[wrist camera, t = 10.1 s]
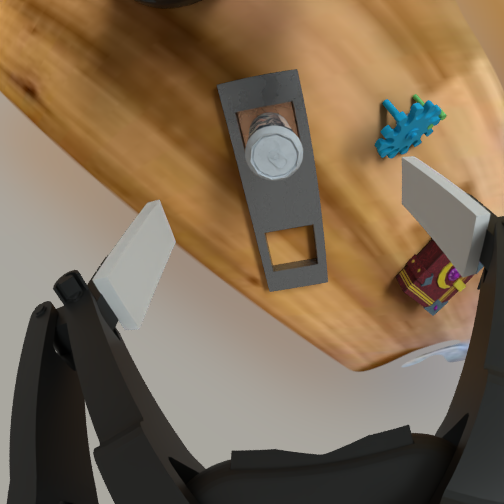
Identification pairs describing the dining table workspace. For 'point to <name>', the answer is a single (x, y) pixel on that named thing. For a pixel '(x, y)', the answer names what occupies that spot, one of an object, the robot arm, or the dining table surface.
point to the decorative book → (432, 278)
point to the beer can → (273, 148)
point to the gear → (408, 127)
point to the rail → (281, 191)
